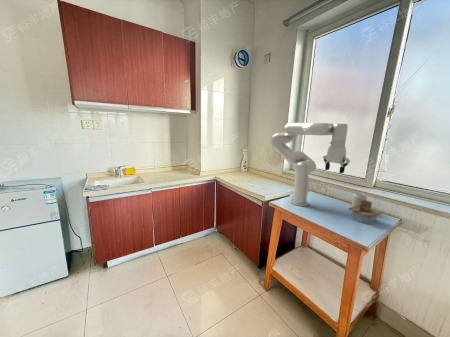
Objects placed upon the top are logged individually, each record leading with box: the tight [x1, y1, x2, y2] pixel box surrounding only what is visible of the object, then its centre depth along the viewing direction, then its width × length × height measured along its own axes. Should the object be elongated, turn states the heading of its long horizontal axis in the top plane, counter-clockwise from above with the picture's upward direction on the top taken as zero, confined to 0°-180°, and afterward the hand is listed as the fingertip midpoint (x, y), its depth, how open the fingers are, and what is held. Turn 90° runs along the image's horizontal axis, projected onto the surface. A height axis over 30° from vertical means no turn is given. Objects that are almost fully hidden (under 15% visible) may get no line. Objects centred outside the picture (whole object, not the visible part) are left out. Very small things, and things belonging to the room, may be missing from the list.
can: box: [350, 192, 368, 208], centre depth 128 cm, size 8×8×12 cm
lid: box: [347, 200, 382, 218], centre depth 115 cm, size 12×12×7 cm
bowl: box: [351, 211, 378, 225], centre depth 116 cm, size 11×11×5 cm
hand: (334, 171), depth 119 cm, fingers open, 9 cm apart
